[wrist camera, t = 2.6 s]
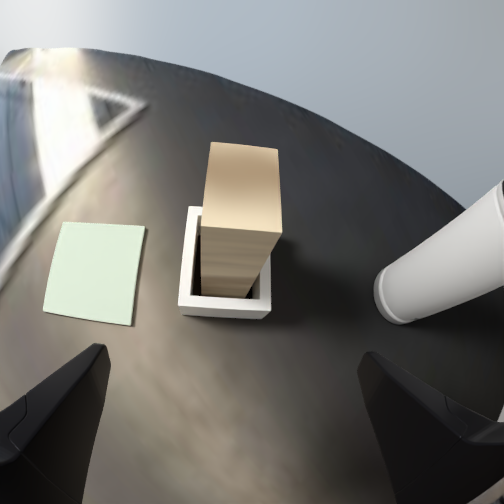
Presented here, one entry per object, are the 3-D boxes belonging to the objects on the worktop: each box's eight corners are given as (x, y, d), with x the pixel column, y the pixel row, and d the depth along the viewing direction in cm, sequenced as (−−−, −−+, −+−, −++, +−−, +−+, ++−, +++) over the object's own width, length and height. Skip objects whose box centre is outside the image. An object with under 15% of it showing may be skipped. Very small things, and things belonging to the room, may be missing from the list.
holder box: (261, 319, 23) (271, 310, 20) (181, 314, 22) (178, 305, 19) (261, 232, 26) (269, 212, 23) (190, 226, 25) (188, 206, 22)
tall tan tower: (243, 300, 24) (281, 232, 12) (201, 297, 23) (200, 225, 12) (244, 246, 26) (277, 149, 14) (205, 243, 25) (211, 141, 14)
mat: (131, 325, 21) (130, 325, 21) (44, 311, 20) (42, 310, 19) (145, 227, 25) (144, 226, 24) (64, 223, 23) (63, 221, 23)
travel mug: (409, 337, 25) (584, 267, 6) (363, 304, 25) (545, 192, 7) (425, 288, 27) (568, 200, 9) (383, 256, 28) (524, 135, 10)
